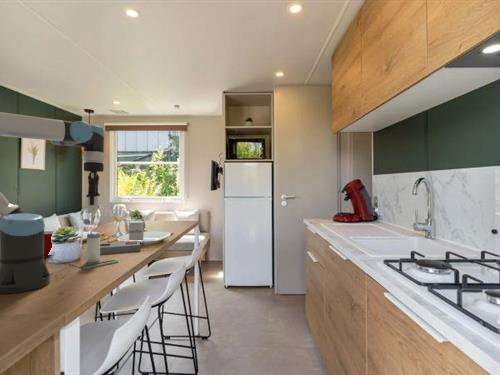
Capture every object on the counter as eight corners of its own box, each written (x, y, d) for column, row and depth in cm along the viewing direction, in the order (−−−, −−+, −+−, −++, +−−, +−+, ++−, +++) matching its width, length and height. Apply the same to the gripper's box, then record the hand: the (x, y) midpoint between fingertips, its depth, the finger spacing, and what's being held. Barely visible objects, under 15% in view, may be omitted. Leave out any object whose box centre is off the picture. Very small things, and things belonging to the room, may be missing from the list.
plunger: (127, 249, 147) (127, 242, 147) (126, 247, 151) (126, 240, 151) (135, 248, 149) (135, 241, 149) (135, 247, 152) (135, 240, 152)
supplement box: (128, 245, 165) (128, 222, 164) (130, 242, 172) (130, 221, 172) (142, 244, 167) (142, 222, 166) (143, 242, 174) (143, 220, 174)
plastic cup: (65, 254, 141) (65, 229, 141) (47, 260, 130) (47, 233, 130) (44, 254, 142) (44, 229, 142) (24, 259, 131) (24, 232, 131)
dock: (90, 257, 137) (90, 248, 137) (92, 251, 148) (92, 243, 148) (140, 252, 146) (140, 244, 146) (138, 248, 157) (138, 240, 157)
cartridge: (90, 264, 122) (90, 235, 122) (84, 262, 125) (84, 234, 125) (102, 261, 126) (102, 233, 126) (96, 259, 129) (96, 232, 129)
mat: (84, 269, 116) (84, 268, 116) (68, 264, 124) (68, 262, 124) (117, 262, 127) (117, 261, 127) (101, 257, 136) (101, 256, 136)
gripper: (102, 160, 116) (101, 214, 116) (104, 164, 139) (104, 209, 139) (80, 159, 113) (79, 214, 113) (86, 163, 135) (86, 209, 135)
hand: (93, 212), depth 126 cm, fingers open, 13 cm apart
